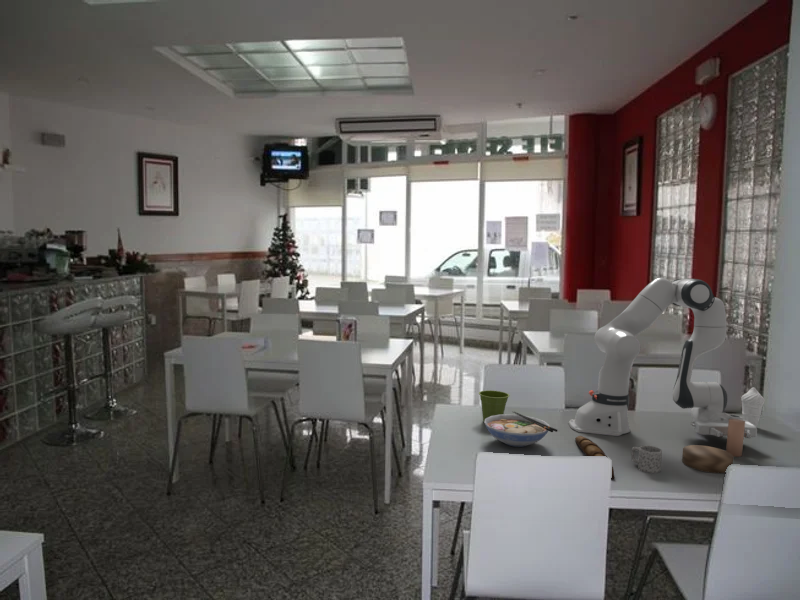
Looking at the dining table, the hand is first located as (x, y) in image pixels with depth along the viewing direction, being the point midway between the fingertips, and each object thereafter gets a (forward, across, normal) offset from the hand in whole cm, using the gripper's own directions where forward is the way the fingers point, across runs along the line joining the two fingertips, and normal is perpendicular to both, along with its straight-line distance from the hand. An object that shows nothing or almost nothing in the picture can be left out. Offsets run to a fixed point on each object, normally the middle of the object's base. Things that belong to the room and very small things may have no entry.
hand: (734, 435), depth 220 cm
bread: (+12, -51, +7) cm, 53 cm away
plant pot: (-24, -81, +7) cm, 85 cm away
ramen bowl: (+1, -75, +7) cm, 75 cm away
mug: (+18, -36, +7) cm, 41 cm away
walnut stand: (+12, -14, +6) cm, 20 cm away
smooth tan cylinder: (+1, 0, +6) cm, 7 cm away
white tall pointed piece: (-34, +22, +7) cm, 41 cm away
